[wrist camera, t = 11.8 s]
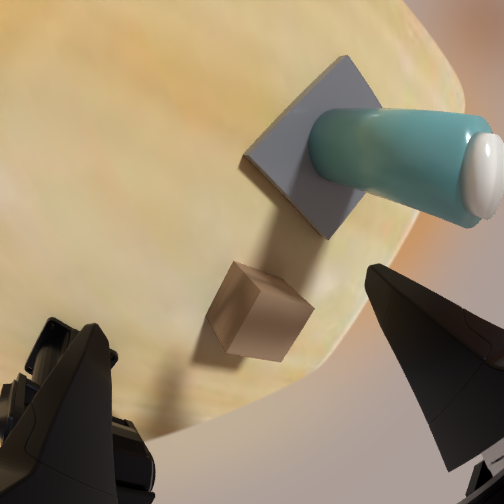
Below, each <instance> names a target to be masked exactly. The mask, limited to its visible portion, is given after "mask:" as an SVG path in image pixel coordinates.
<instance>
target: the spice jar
mask: <svg viewBox="0 0 504 504" xmlns="http://www.w3.org/2000/svg"><path fill="white" fill-rule="evenodd" d="M308 150H309V156H310V160H311V162H312V165H313V167H314V169H315V170H316V172H317V173H318V174H319V175H320V176H321V177H322V178H324V179H325V180H327V181H329V182H333V183H336V184H339V185H343V186H346V187H350V188H353V189H356V190H360V191H363V192H366V193H369V194H372V195H375V196H379V197H382V198H385V199H388V200H391V201H394V202H397V203H400V204H402V205H405V206H408V207H411V208H414V209H417V210H419V211H422V212H425V213H428V214H430V215H433V216H436V217H439V218H441V219H444V220H446V221H449V222H452V223H454V224H457V225H459V226H461V227H464V228H472V227H474V226H475V225H476V224H478V223H479V221H480V220H481V219H482V218H483V219H487V220H488V219H490V218H491V217H492V216H493V215H494V214H495V212H496V211H497V209H498V207H499V205H500V202H501V199H502V196H503V193H504V144H503V142H502V139H501V138H500V137H499V136H498V135H496V134H493V133H492V130H491V128H490V126H489V124H488V123H487V121H486V120H485V119H484V118H483V117H480V116H475V115H468V114H460V113H451V112H441V111H429V110H414V109H391V108H339V109H331V110H328V111H326V112H324V113H323V114H322V115H321V116H319V117H318V119H317V120H316V121H315V123H314V124H313V127H312V129H311V132H310V135H309V142H308Z"/></svg>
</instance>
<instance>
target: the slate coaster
mask: <svg viewBox="0 0 504 504" xmlns="http://www.w3.org/2000/svg"><path fill="white" fill-rule="evenodd" d="M339 108H382V106H381V104H380V103H379V101H378V99H377V98H376V96H375V95H374V93H373V91H372V90H371V88H370V87H369V85H368V84H367V82H366V81H365V79H364V78H363V76H362V75H361V73H360V72H359V70H358V69H357V67H356V66H355V64H354V63H353V62H352V60H351V59H350V57H349V56H348V55H344V56H340V57H339V58H338V59H336V60H335V61H334V62H333V63H332V64H331V65H330V66H329V67H328V68H327V69H326V70H325V71H324V72H323V73H322V74H321V75H320V76H319V77H318V78H316V79H315V80H314V81H313V82H312V83H311V84H310V85H309V86H308V87H307V88H306V89H305V90H304V91H303V92H302V93H301V94H300V95H299V96H298V97H297V98H296V99H295V100H294V101H293V102H292V103H291V104H290V105H289V106H288V107H287V108H286V109H285V110H284V111H283V113H282V114H281V115H280V116H279V117H278V118H277V119H276V120H275V121H274V122H273V123H272V124H271V125H270V126H269V127H268V128H267V129H266V130H265V131H264V132H263V133H262V135H261V136H260V137H259V138H258V139H257V140H256V141H255V142H254V143H253V144H252V145H251V146H250V148H249V149H248V150H247V151H246V152H245V153H244V154H243V155H244V156H245V157H246V158H247V159H248V160H249V161H250V162H251V163H252V164H253V165H254V166H255V167H256V168H257V169H258V170H259V171H260V172H261V173H262V174H263V175H264V176H265V177H266V178H267V179H268V180H269V181H270V182H271V183H272V184H273V185H274V186H275V187H276V188H277V189H278V190H279V191H280V192H281V193H282V194H283V195H284V197H285V198H286V199H287V200H288V201H289V202H290V203H291V204H292V205H293V206H294V207H295V208H296V209H297V210H298V211H299V212H300V213H301V215H302V216H303V217H304V218H305V219H306V220H307V221H308V222H309V223H310V224H311V225H312V226H313V228H314V229H315V230H316V231H317V232H318V233H319V234H320V235H321V236H322V237H324V238H325V239H327V240H329V239H330V238H331V236H332V235H333V234H334V233H335V231H336V230H337V229H338V228H339V226H340V225H341V224H342V223H343V221H344V220H345V219H346V218H347V216H348V215H349V214H350V212H351V211H352V210H353V209H354V207H355V206H356V205H357V203H358V202H359V201H360V200H361V198H362V197H363V196H364V194H365V193H366V192H363V191H360V190H356V189H353V188H350V187H346V186H343V185H339V184H336V183H333V182H329V181H327V180H325V179H324V178H322V177H321V176H320V175H319V174H318V173H317V172H316V170H315V169H314V167H313V165H312V162H311V160H310V156H309V150H308V142H309V135H310V132H311V129H312V127H313V124H314V123H315V121H316V120H317V119H318V117H319V116H321V115H322V114H323V113H324V112H326V111H328V110H331V109H339Z"/></svg>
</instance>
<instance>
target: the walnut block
mask: <svg viewBox="0 0 504 504" xmlns="http://www.w3.org/2000/svg"><path fill="white" fill-rule="evenodd" d="M314 309H315V308H314V307H313V306H311V305H310V304H309V303H308V302H307V301H306V300H305V299H304V298H303V297H301V296H300V295H299V294H298V293H297V292H296V291H295V290H294V289H293V288H291V287H290V286H289V285H288V284H287V283H286V282H285V281H284V280H282V279H280V278H277V277H275V276H272V275H269V274H267V273H264V272H261V271H259V270H256V269H254V268H251V267H248V266H246V265H243V264H241V263H238V262H236V261H233V263H232V265H231V267H230V269H229V271H228V273H227V275H226V276H225V278H224V280H223V282H222V284H221V286H220V288H219V290H218V292H217V294H216V296H215V298H214V300H213V302H212V304H211V306H210V308H209V310H208V312H207V313H206V317H207V319H208V321H209V322H210V324H211V326H212V328H213V330H214V332H215V334H216V336H217V337H218V339H219V341H220V343H221V345H222V347H223V348H224V350H225V352H226V353H229V354H234V355H240V356H245V357H251V358H257V359H263V360H269V361H276V362H281V361H282V360H283V358H284V357H285V355H286V354H287V352H288V351H289V349H290V348H291V346H292V344H293V343H294V341H295V340H296V338H297V337H298V335H299V333H300V332H301V330H302V329H303V327H304V325H305V324H306V322H307V320H308V319H309V317H310V316H311V314H312V312H313V311H314Z"/></svg>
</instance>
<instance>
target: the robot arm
mask: <svg viewBox="0 0 504 504" xmlns="http://www.w3.org/2000/svg"><path fill="white" fill-rule="evenodd" d="M365 290H366V293H367V295H368V298H369V300H370V302H371V305H372V307H373V310H374V312H375V315H376V317H377V319H378V322H379V324H380V327H381V328H382V330H383V332H384V334H385V336H386V338H387V340H388V342H389V344H390V346H391V348H392V350H393V352H394V354H395V355H396V358H397V360H398V361H399V363H400V365H401V367H402V369H403V371H404V373H405V375H406V378H407V380H408V382H409V383H410V386H411V388H412V390H413V392H414V394H415V396H416V398H417V401H418V403H419V405H420V407H421V409H422V411H423V413H424V416H425V418H426V420H427V422H428V424H429V427H430V430H431V432H432V434H433V437H434V439H435V441H436V444H437V446H438V449H439V451H440V453H441V456H442V458H443V461H444V463H445V466H446V468H447V470H448V472H450V471H452V470H454V469H456V468H457V467H459V466H461V465H463V464H464V463H466V462H468V461H469V460H471V459H473V458H474V457H476V456H477V455H479V454H480V453H481V454H482V456H483V458H484V459H483V460H482V461H481V462H479V463H478V464H477V465H475V466H474V470H473V473H472V476H471V479H470V482H469V486H468V489H467V492H466V498H465V499H463V500H462V501H461V502H459V503H458V504H504V329H502V328H500V327H498V326H496V325H494V324H492V323H490V322H488V321H486V320H484V319H482V318H480V317H478V316H476V315H474V314H473V313H471V312H469V311H467V310H466V309H462V307H460V306H458V305H457V304H455V303H453V302H451V301H449V300H448V299H446V298H444V297H442V296H440V295H439V294H437V293H435V292H433V291H431V290H429V289H428V288H426V287H424V286H422V285H420V284H418V283H416V282H415V281H413V280H411V279H409V278H407V277H405V276H403V275H401V274H399V273H397V272H396V271H394V270H392V269H390V268H388V267H386V266H384V265H382V264H374V265H370V266H369V267H368V269H367V274H366V279H365ZM50 323H54V324H55V325H54V326H53V325H51V324H50ZM110 356H114V357H110ZM117 361H118V354H117V352H116V351H114V350H112V349H110V348H109V342H108V339H107V337H106V336H105V334H104V333H103V331H102V330H101V328H100V327H99V325H98V324H97V323H92V324H87V325H85V326H84V327H83V328H82V330H81V331H78V330H76V329H73V328H71V327H70V326H68V325H66V324H64V323H63V322H61V321H59V320H58V319H56V318H54V317H50V318H49V319H48V320H47V322H46V324H45V326H44V327H43V329H42V331H41V333H40V335H39V337H38V339H37V341H36V343H35V345H34V347H33V349H32V351H31V353H30V355H29V357H28V359H27V362H26V364H25V370H26V372H28V373H29V374H31V375H32V380H29V379H27V378H26V376H25V375H23V374H21V373H19V374H18V377H17V379H16V380H14V381H13V383H12V384H3V387H2V390H1V394H0V443H1V447H0V504H151V503H152V502H153V500H154V498H155V493H154V492H151V490H152V488H153V485H154V482H155V464H154V460H153V457H152V455H151V453H150V452H149V450H148V448H147V447H146V445H145V444H144V442H143V440H142V438H141V437H140V435H139V433H138V431H137V430H136V428H135V426H134V424H133V423H132V421H129V420H126V419H124V420H122V419H119V418H116V417H113V416H112V381H111V369H112V367H113V366H114V365H115V363H116V362H117ZM29 367H30V368H29ZM31 368H32V369H31Z"/></svg>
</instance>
